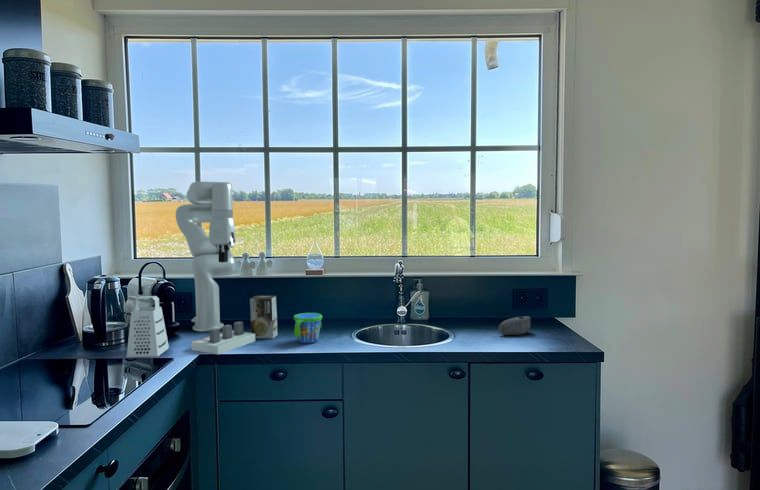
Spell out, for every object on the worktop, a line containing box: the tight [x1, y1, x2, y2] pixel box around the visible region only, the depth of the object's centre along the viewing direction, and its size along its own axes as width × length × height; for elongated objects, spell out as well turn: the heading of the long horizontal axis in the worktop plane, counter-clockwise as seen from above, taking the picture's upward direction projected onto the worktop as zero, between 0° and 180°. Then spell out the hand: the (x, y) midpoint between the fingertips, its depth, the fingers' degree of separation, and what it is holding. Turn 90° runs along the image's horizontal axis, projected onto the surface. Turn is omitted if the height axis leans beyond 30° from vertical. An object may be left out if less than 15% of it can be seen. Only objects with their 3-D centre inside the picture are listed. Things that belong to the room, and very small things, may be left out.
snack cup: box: [293, 312, 323, 344], centre depth 183 cm, size 16×10×10 cm
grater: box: [126, 295, 170, 358], centre depth 170 cm, size 10×10×20 cm
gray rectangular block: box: [233, 321, 245, 335], centre depth 183 cm, size 3×3×4 cm
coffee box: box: [249, 295, 278, 339], centre depth 190 cm, size 9×6×16 cm
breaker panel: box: [191, 329, 256, 355], centre depth 178 cm, size 13×19×3 cm
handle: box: [208, 328, 221, 343], centre depth 172 cm, size 3×3×4 cm
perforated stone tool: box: [498, 315, 532, 336], centre depth 191 cm, size 15×5×7 cm, turn 106°
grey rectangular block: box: [221, 324, 233, 339], centre depth 177 cm, size 3×3×4 cm
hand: (223, 261), depth 185 cm, fingers closed
